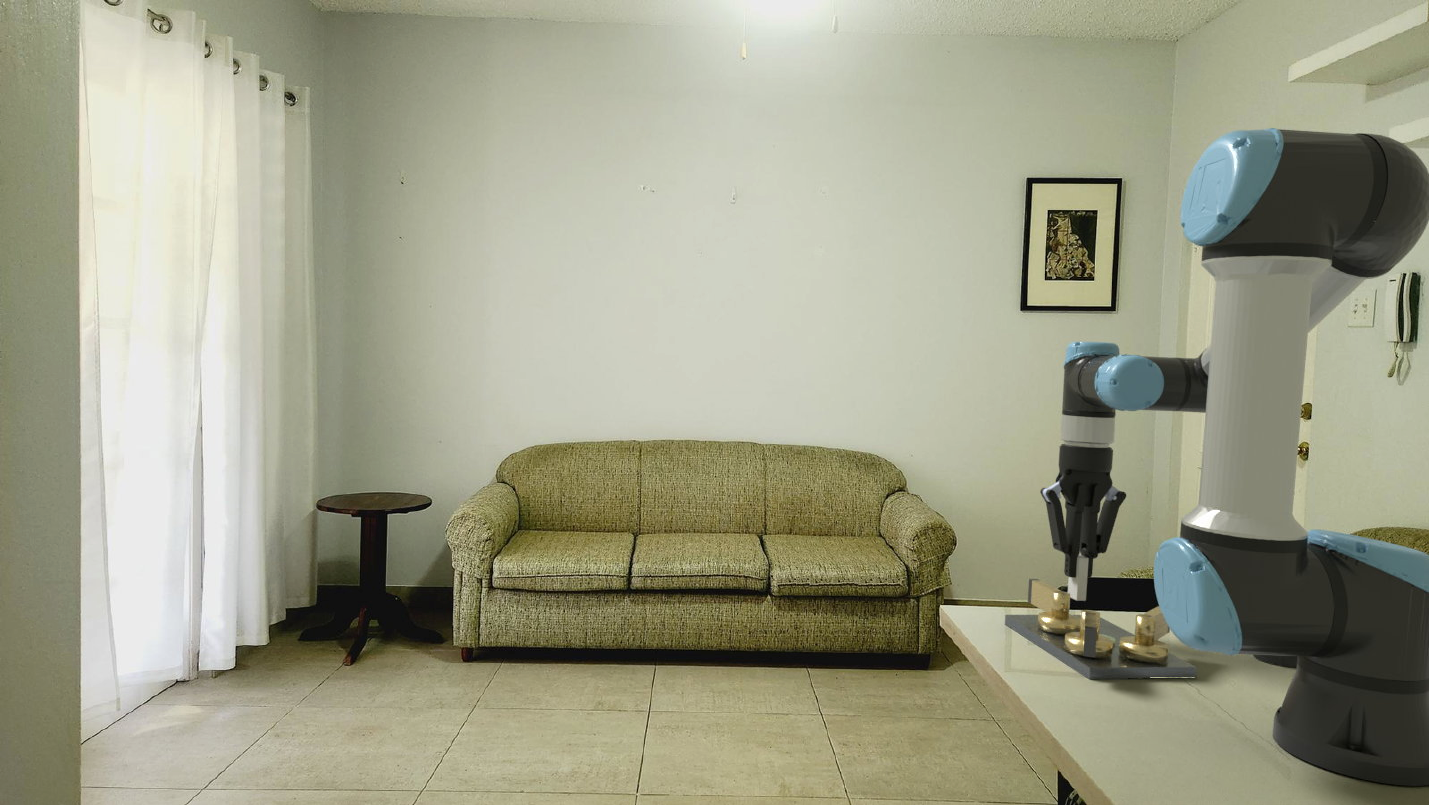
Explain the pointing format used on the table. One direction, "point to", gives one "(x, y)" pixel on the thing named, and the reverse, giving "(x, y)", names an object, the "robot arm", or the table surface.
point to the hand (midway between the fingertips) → (1076, 598)
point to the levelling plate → (1099, 667)
